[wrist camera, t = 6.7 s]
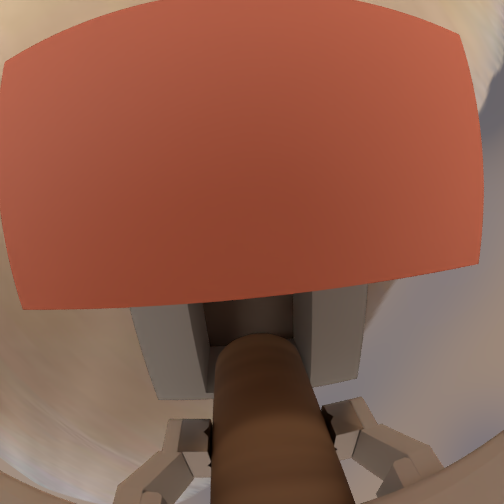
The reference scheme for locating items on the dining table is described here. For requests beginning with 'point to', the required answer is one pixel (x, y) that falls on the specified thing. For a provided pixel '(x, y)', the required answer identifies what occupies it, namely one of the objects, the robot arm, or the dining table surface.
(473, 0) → the dining table surface
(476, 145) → the socket stand
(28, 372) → the dining table surface
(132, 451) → the dining table surface
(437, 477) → the robot arm
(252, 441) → the walnut peg
